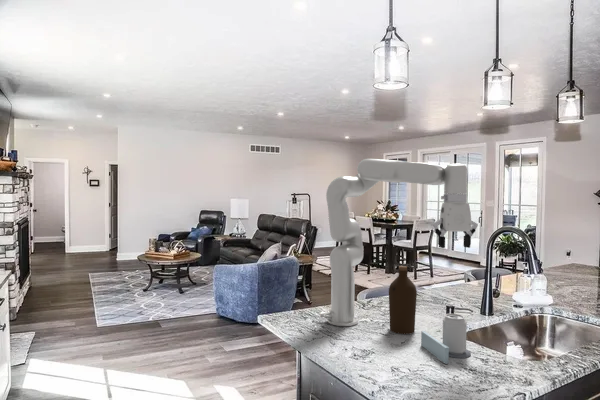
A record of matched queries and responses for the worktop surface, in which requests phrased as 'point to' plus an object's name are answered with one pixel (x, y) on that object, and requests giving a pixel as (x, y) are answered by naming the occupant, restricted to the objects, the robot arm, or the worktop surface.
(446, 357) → the acrylic wall
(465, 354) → the coaster
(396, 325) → the olive oil
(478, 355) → the worktop surface
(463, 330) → the can
